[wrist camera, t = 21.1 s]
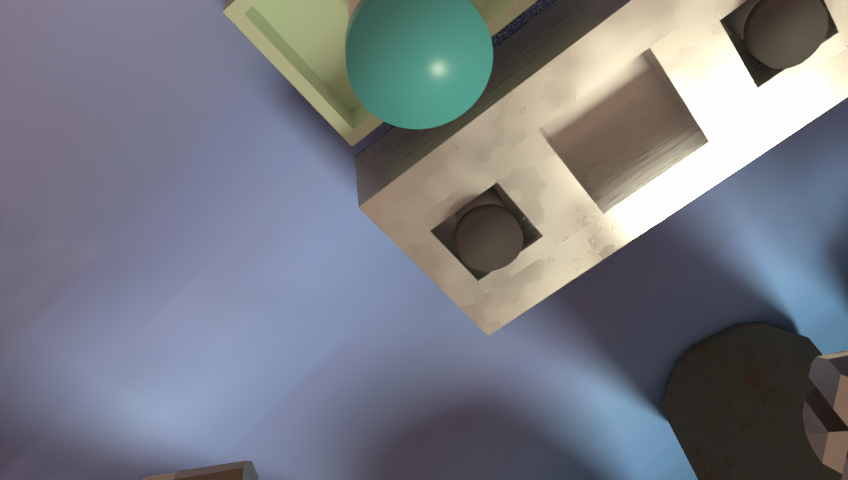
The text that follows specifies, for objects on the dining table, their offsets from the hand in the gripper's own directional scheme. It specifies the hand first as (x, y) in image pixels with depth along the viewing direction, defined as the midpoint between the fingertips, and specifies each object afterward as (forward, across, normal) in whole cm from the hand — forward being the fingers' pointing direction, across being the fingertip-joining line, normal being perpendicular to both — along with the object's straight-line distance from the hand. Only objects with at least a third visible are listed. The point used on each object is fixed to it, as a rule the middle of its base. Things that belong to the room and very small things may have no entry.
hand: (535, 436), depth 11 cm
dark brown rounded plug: (+25, -15, +3) cm, 29 cm away
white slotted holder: (+27, -9, +7) cm, 29 cm away
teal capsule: (+26, 0, 0) cm, 27 cm away
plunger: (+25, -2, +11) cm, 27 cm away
